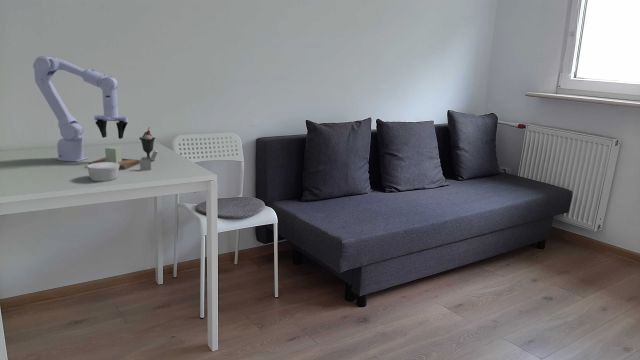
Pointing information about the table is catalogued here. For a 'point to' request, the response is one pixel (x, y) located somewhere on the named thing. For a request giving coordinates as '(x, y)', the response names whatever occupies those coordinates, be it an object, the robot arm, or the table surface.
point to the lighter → (147, 161)
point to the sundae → (147, 143)
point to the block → (113, 154)
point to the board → (122, 164)
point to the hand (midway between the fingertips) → (112, 137)
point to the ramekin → (103, 171)
